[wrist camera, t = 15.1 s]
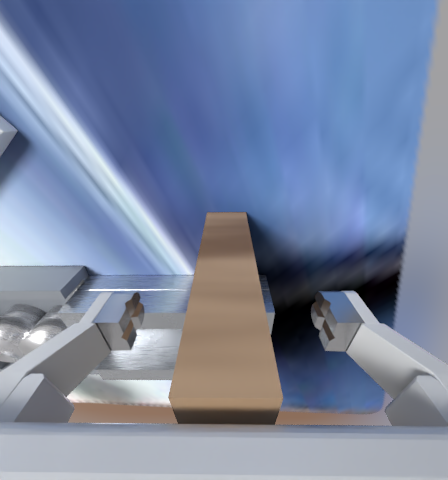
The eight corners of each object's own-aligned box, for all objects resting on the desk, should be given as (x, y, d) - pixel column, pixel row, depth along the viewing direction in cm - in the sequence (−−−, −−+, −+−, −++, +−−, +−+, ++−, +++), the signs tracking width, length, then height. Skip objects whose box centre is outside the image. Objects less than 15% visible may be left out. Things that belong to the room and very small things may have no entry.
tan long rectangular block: (207, 212, 13) (168, 397, 4) (246, 212, 13) (282, 398, 4) (210, 266, 15) (189, 455, 7) (243, 266, 15) (264, 456, 7)
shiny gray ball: (1, 303, 17) (-39, 336, 14) (42, 304, 17) (9, 338, 14) (21, 328, 19) (-12, 361, 16) (58, 329, 19) (31, 363, 16)
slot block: (88, 275, 16) (56, 312, 13) (265, 274, 16) (275, 312, 13) (121, 341, 21) (103, 379, 18) (257, 342, 20) (262, 380, 17)
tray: (-56, 266, 15) (-103, 291, 13) (84, 265, 15) (60, 290, 13) (21, 347, 21) (-2, 373, 19) (124, 347, 21) (111, 374, 19)
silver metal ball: (40, 307, 17) (7, 341, 14) (76, 302, 17) (48, 336, 14) (64, 331, 19) (38, 365, 16) (97, 327, 18) (76, 361, 16)
